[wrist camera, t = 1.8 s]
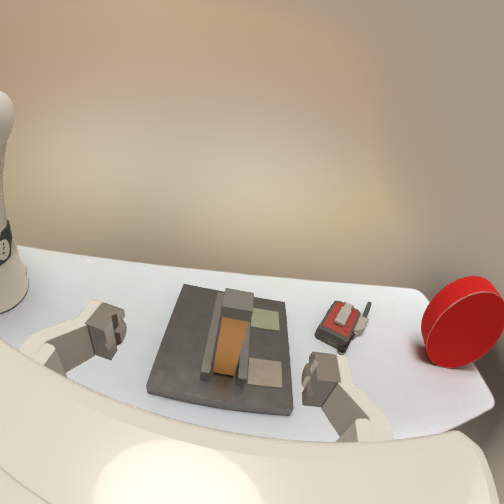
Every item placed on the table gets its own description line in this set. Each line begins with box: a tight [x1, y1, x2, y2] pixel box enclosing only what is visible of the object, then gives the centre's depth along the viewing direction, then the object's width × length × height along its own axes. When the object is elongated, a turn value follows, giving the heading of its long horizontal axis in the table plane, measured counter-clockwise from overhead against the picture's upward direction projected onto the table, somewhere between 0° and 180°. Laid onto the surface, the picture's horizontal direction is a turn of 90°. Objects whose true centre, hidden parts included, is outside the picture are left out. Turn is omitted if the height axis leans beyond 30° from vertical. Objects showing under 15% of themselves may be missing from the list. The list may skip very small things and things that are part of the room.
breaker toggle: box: [213, 288, 254, 376], centre depth 35 cm, size 3×3×13 cm
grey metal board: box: [146, 284, 293, 416], centre depth 43 cm, size 20×24×4 cm
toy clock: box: [421, 276, 504, 368], centre depth 43 cm, size 20×6×20 cm, turn 74°
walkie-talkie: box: [315, 301, 371, 353], centre depth 54 cm, size 9×4×20 cm
